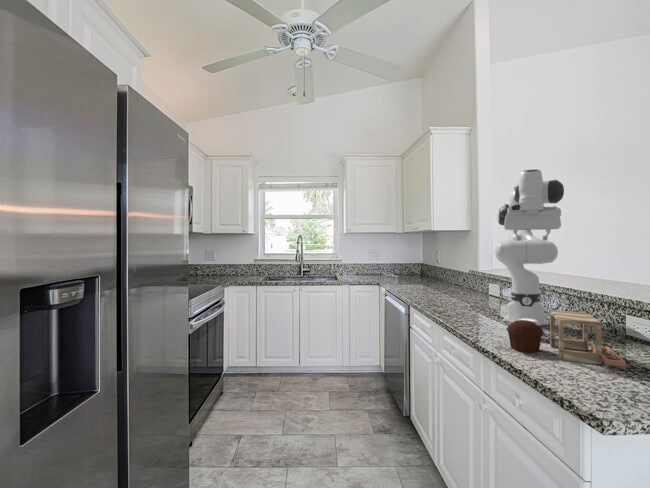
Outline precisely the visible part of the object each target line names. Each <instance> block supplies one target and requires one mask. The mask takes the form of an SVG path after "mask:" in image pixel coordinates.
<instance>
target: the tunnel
mask: <svg viewBox="0 0 650 488" xmlns="http://www.w3.org/2000/svg"><path fill="white" fill-rule="evenodd" d="M549 313H550V315H549V319H550V320H549V325H550V327H549V329H550V331H549V333H550V335H549V340H550V341H549V343H550V345H549V346H550V348H551V347H552V348H558V359H559V360H561V361H568V362H569V361H570V362H577V363H578V362H579V363H586V364H596V365H597V364H598V365H602V363H603V362H602V347H603V345H602V338H603V337H602V326H603V325H602V324H603V323H602V321H600V320H599V319H597V318H596V317H594V316H592V315H591V314H589V313H588V312H581V311H579V312H578V311H565V310H551V309H550V310H549ZM556 320H557V322H558V337H557V338H556V330H555V329H556V323H555V322H556ZM565 324H573V325H574V324H576V325H582V340H581V339H580V340H579V339H577V340H576V339H570V338H567V339H566V338H565V329H564V328H565ZM591 325H592V326H595V346H596V353H593V352H592V351H589V326H591Z"/></svg>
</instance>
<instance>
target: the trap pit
mask: <svg viewBox="0 0 650 488" xmlns="http://www.w3.org/2000/svg"><path fill="white" fill-rule="evenodd" d="M590 352H591V353H596V345H590ZM602 363H603V364H605V366H607V365H608V366H615V367H624V368H625V367H626V368H627V361H625V360H624V359H623V358H622V357H621V356H619V355H618V353H616V352H615V351H613V350H612V349H611V348H610V347H608V346H607V347H606V346H602Z"/></svg>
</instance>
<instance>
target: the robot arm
mask: <svg viewBox="0 0 650 488" xmlns="http://www.w3.org/2000/svg"><path fill="white" fill-rule="evenodd" d="M518 179H519V181H518V184H516V185H515V186H514V187H513V191H512V192H511V193H510V195H509V204H508V203H504V205H503V206H501V207H499V209H498V211H497V214H496V220H497V222H498V224H499V225H500V226H503V229H504V230H505V231H509V235H508V240H505V241H502V242H501V241H500V242H498V243H497V244H496V246H495V249H494V255H495V257H496V259H497V260H498V261H499V262H500V263H502V264H503V265H504V266H505V267H506V269H508V272H509V273H510V277H511V289H512V290H511V292H510V299H511V301H509V303H507V306H506V308H505V309H506V315H505V316H504V317H503V320H502V321H503V322H507V323H510V324H511V323H512V322H514V321H518V319H519V318H530V319H535V320H537V321H538V324H537V325H538V326H544V325H545V326H546V325H550V321H547V320H545V306H544V305H543V304H542V303H541V293H540V278H539V276H538V274H537V273H535V272H532V271H531V270H528V269H526V268H525V267H524V265H527V264H528V265H529V264H530V265H531V264H532V265H542V264H543V265H544V264H549V263H553V262H554V261H555V260H556V259H557V258H558V254H559V250H558V247H557V245H556V244H555V243H554V242H553V241H548V239H549V238H548V236H549V235H550V233H551V232H552V231H551V230H558V229H560V228H561V227H562V222H561V221H562V220H561V216H562V210H561V208H560V207H557V206H544V205H545V204H557V203H560V201H561V200H563V198H564V194H565V189H564V188H565V187H564V184H563V183H562V182H561V181H559V180H557V179H552V180H544V179H543V174H542V171H541V169H526V170H523V171H521V172H520V174H519V178H518ZM534 230H535V231H536V230H539V231H541V230H545V235H543V236H542V239H541V238H538V237H537V236H535V235H534V234H533V232H532V231H534Z"/></svg>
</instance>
